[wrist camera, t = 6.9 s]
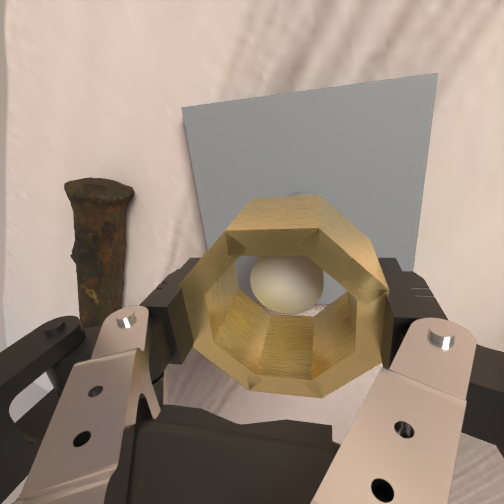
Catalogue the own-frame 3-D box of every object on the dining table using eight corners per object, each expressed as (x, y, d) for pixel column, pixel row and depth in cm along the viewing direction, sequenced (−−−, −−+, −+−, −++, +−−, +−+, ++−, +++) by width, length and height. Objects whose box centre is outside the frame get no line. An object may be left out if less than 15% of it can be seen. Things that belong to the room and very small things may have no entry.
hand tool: (94, 169, 23) (44, 181, 19) (142, 185, 23) (101, 201, 19) (91, 342, 32) (56, 376, 28) (125, 355, 31) (95, 392, 27)
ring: (373, 192, 10) (394, 225, 7) (365, 334, 13) (378, 404, 10) (207, 200, 12) (166, 231, 9) (228, 326, 14) (202, 385, 11)
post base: (430, 75, 16) (569, 26, 7) (404, 297, 22) (462, 431, 12) (189, 107, 19) (70, 103, 10) (221, 292, 25) (162, 395, 16)
